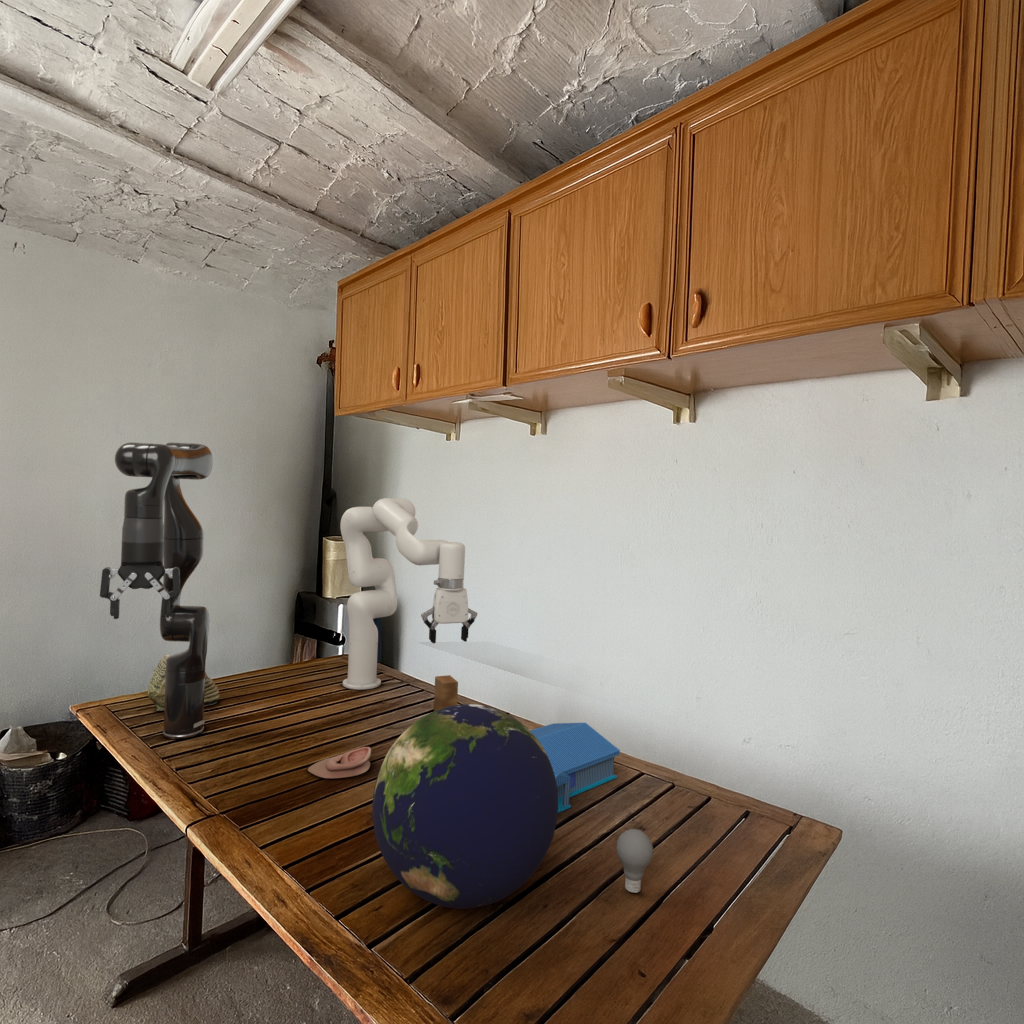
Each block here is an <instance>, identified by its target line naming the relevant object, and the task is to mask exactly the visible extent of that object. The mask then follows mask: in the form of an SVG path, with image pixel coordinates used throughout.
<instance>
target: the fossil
mask: <svg viewBox="0 0 1024 1024" xmlns="http://www.w3.org/2000/svg"><path fill="white" fill-rule="evenodd" d="M171 655H172V654H165V655H164V656H163V657H162V658H161V659H160V660H159V662H158V663H157V666H156V667H155V669H154V670H153V672H152V675H151V677H150V680H149V684H148V688H147V697H148V699H149V700H150V701H152V703H153V704H154V706H155V711H158V712H159V711H162V712H163V711H164V705H165V674H166V660H167V658H168V657H170V656H171ZM220 698H221V696H220V690H219V688H218V686H217V685H216V683H215V682H214V681H213V679H212V678H211V677H209V675H208V674H207V672H206V671H205V693H204V707H207V706H213V705H215V704H217V703H218V701H219V699H220Z"/></svg>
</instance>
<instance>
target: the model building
mask: <svg viewBox="0 0 1024 1024" xmlns="http://www.w3.org/2000/svg"><path fill="white" fill-rule="evenodd" d="M529 730H530V732H531V733H532V734H533V735H534V736H535V737H536V738H537V739H538V741H539V742H540V743H541V745H542V747H543V748H544V750H545V752H546V753H547V756H548V758H549V761H550V763H551V765H552V768H553V772H554V775H555V779H556V784H557V791H558V814H559V813H562V812H563V811H566V810H569V809H571V808H572V805H571V804H570V798H572V797H575V796H577V795H580V794H582V793H585V792H587V791H589V790H591V789H594V788H597V787H599V786H601V785H603V784H605V783H609V782H610V781H613V780H615V779H617V778H618V776H617V775H616V774H614V771H615V770H614V768H615V767H614V765H615V757H617V756H620V754H621V750H620V749H619V748H618V747H617V746H616V745H614V744H613V743H612V742H611V741H610V740H607V738H605V737H604V736H603V735H601V734H600V733H599V732H598V731H597V730H596V729H594V728H593V727H592V726H591V725H589V724H588V723H587V722H560V723H559V722H558V723H555V722H554V723H550V724H546V725H544V726H543V725H542V726H540V727H537V728H533V729H529Z"/></svg>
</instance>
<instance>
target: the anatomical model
mask: <svg viewBox="0 0 1024 1024" xmlns="http://www.w3.org/2000/svg"><path fill="white" fill-rule="evenodd" d="M371 755H372V747H370V746H364V747H359V748H356V749H353V750H349V751H346V752H343V753H341V754H338V755H335V756H332V757H328V758H324V759H322V760H319V761H317V762H315V763H314V764H311V765H310V766H309V767H308V768H307V771H308V772H309V773H310V774H312V775H314V776H316V777H319V778H322V779H342V778H351V777H355V776H359V775H363V774H364V773H366V772H367V771H368V770H369V769H370V767H371V761H370V757H371Z"/></svg>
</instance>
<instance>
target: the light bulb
mask: <svg viewBox="0 0 1024 1024" xmlns="http://www.w3.org/2000/svg"><path fill="white" fill-rule="evenodd" d="M615 849H616V854H617V857H618V859H619V861H620V863H621V865H622V867H623V873H624V874H623V875H624V876H625V878H624V888H625V890H627V891H628V892H630V893H634V894H635V893H639V892H640V891H641V889H642V887H641V886H642V879H643V877H644V875H645V871H646V868H647V867H648V866H649V864H650V863H651V861H652V859H653V855H654V847H653V843H652V841H651V838H649V836H648V835H647V834H646V833H645V832H643V831H642V830H641V829H636V828H629V829H627V830H625V831H623V832H622V833H621V834H620V835H619V837H618V839H617V841H616V847H615Z"/></svg>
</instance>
